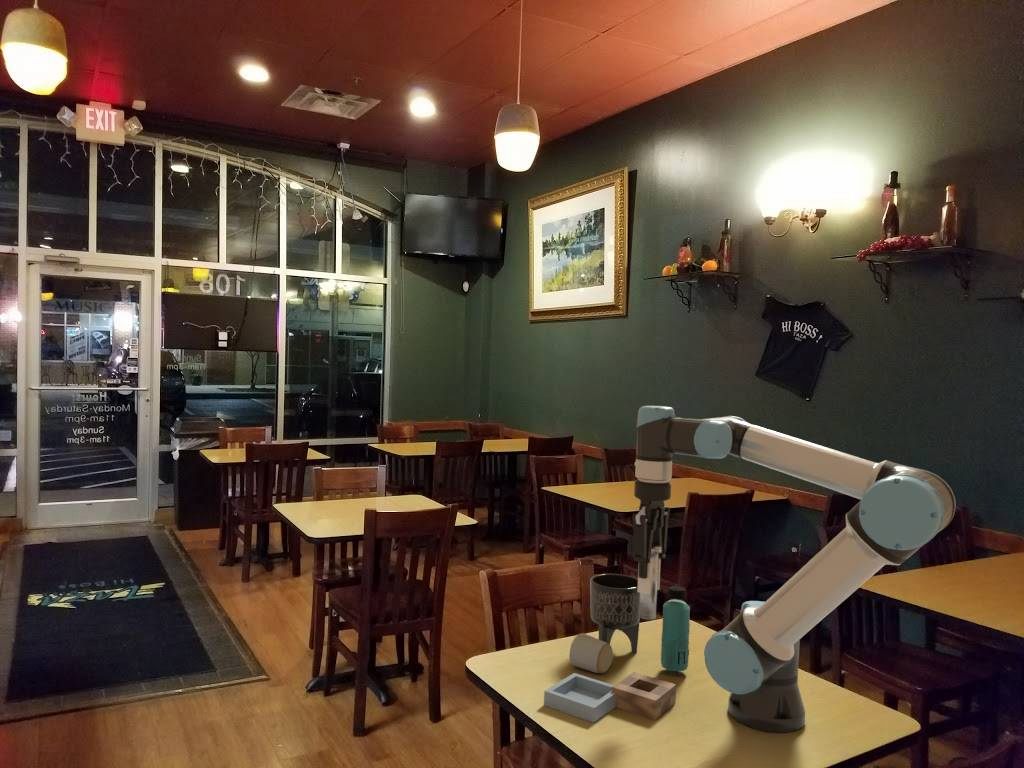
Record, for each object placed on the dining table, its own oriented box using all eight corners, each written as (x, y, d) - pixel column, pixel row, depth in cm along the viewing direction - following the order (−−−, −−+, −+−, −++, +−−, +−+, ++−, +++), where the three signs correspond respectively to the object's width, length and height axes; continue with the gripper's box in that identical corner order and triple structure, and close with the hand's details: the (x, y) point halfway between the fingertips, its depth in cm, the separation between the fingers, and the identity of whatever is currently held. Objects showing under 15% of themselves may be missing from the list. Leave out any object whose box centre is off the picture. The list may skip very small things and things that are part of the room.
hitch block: (675, 703, 163) (676, 684, 163) (654, 720, 155) (655, 700, 155) (633, 689, 169) (633, 671, 169) (611, 705, 161) (611, 686, 161)
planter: (627, 666, 182) (630, 592, 181) (578, 653, 189) (581, 582, 188) (647, 649, 193) (650, 579, 192) (601, 637, 200) (603, 570, 199)
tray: (622, 702, 163) (622, 688, 162) (593, 722, 153) (594, 708, 153) (573, 686, 170) (574, 672, 169) (543, 705, 160) (544, 690, 160)
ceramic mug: (598, 679, 174) (600, 645, 174) (567, 669, 178) (569, 637, 178) (620, 665, 182) (622, 634, 182) (590, 657, 187) (592, 625, 187)
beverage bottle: (676, 680, 175) (680, 593, 174) (653, 670, 180) (657, 586, 179) (694, 673, 179) (697, 588, 178) (671, 664, 184) (674, 581, 183)
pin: (662, 616, 162) (664, 546, 161) (652, 622, 158) (655, 550, 157) (642, 611, 164) (645, 542, 164) (632, 617, 161) (635, 546, 160)
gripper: (653, 473, 169) (649, 578, 170) (618, 482, 156) (613, 596, 156) (685, 477, 165) (681, 585, 165) (652, 486, 151) (647, 603, 152)
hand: (648, 590), depth 161 cm, fingers closed on pin, 3 cm apart
